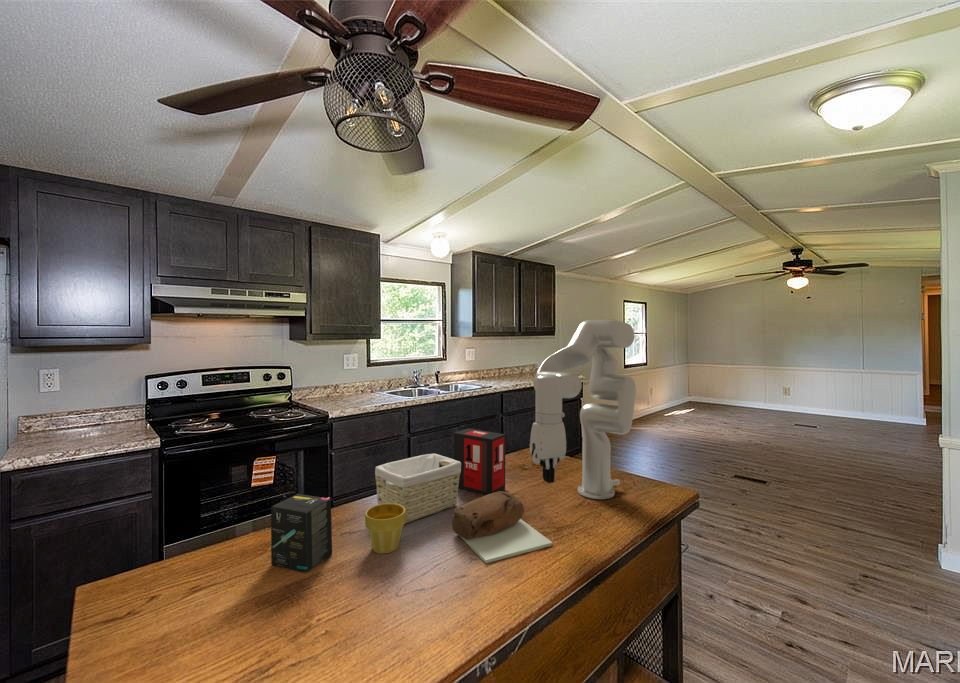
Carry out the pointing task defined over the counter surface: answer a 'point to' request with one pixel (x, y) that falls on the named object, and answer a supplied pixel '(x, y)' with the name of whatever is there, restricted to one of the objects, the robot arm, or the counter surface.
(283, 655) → the counter surface
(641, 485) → the counter surface
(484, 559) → the cutting board
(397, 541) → the plant pot
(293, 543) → the tampon box
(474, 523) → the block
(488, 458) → the cleaning product box
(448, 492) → the storage basket
